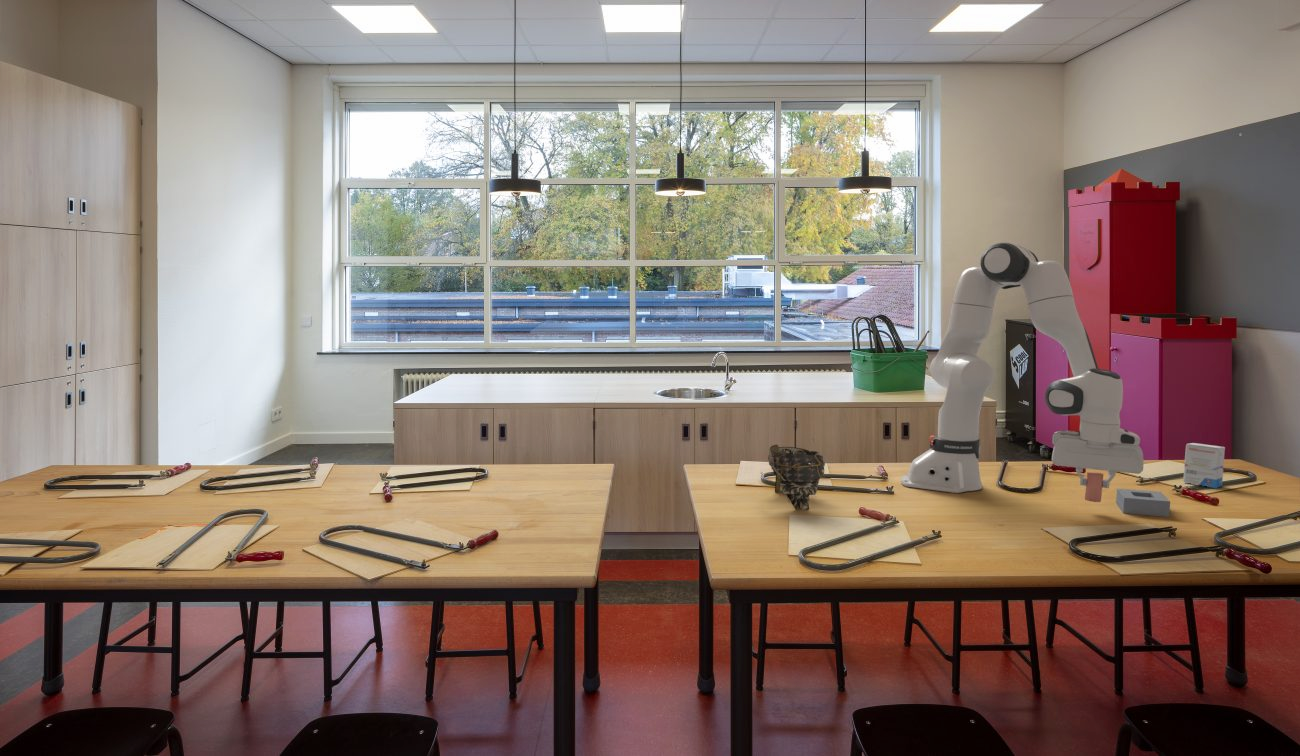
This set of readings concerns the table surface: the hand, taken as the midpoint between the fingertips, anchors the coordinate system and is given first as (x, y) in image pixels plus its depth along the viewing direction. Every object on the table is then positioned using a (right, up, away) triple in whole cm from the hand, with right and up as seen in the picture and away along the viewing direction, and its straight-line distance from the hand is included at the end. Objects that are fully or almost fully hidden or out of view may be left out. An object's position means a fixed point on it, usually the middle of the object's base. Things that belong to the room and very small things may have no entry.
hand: (1094, 486), depth 197 cm
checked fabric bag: (-73, -6, +16) cm, 75 cm away
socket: (+14, -7, +3) cm, 16 cm away
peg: (0, -4, 0) cm, 4 cm away
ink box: (+48, -4, +28) cm, 56 cm away
